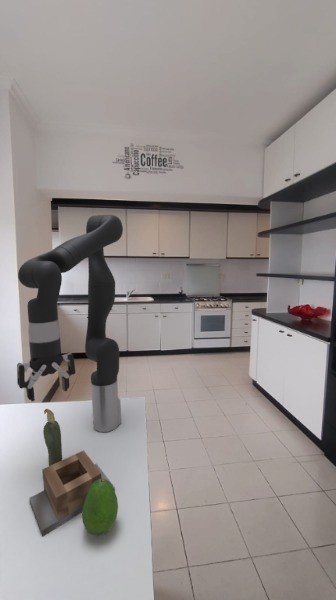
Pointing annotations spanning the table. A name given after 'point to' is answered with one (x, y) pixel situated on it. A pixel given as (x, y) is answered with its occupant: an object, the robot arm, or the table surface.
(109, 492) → the avocado
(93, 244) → the robot arm
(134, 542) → the table surface
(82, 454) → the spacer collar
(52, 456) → the vegetable
